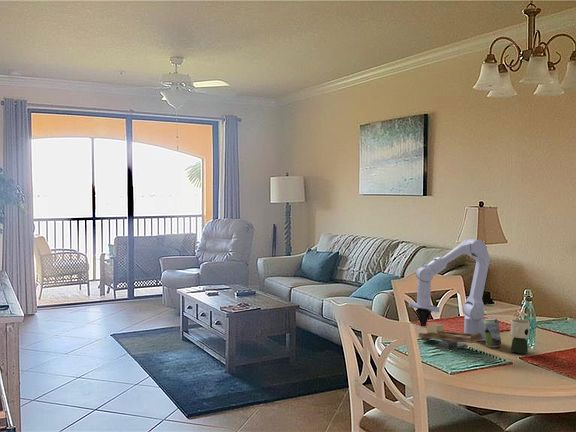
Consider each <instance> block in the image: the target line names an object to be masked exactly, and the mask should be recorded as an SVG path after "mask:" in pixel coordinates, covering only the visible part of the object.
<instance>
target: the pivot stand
mask: <svg viewBox="0 0 576 432" xmlns="http://www.w3.org/2000/svg"><path fill="white" fill-rule="evenodd" d="M467 344H468V343H466V342H457V341H447V340H441V342H439V343H437V344H433V345H432V348H433V347H436V348H435V349H437V348H440V349H439V350H441V349H444V350H443V351H445V350H448V351H447V352H449V351H450V350H453V351H455V350H454V349H456V348H458V349H460V348H459V347H461V348H463V346H464V347H466V346H467ZM456 350H457V349H456ZM450 352H451V351H450Z"/></svg>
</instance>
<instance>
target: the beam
mask: <svg viewBox="0 0 576 432" xmlns="http://www.w3.org/2000/svg"><path fill="white" fill-rule="evenodd" d="M418 338H420V339H421V341H426V342H427V341H429V340H439V341H442V340H447V341H457V342H461V343H465V344H472V343H473V344H474V343H476V342H480V341H479V340H482V339H483V337H482V335H481V333H478V334H468V333H464V332H455V331H446V330H444V334H443V335H438V334H428V333H427V332H425V333H424V332H418Z"/></svg>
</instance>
